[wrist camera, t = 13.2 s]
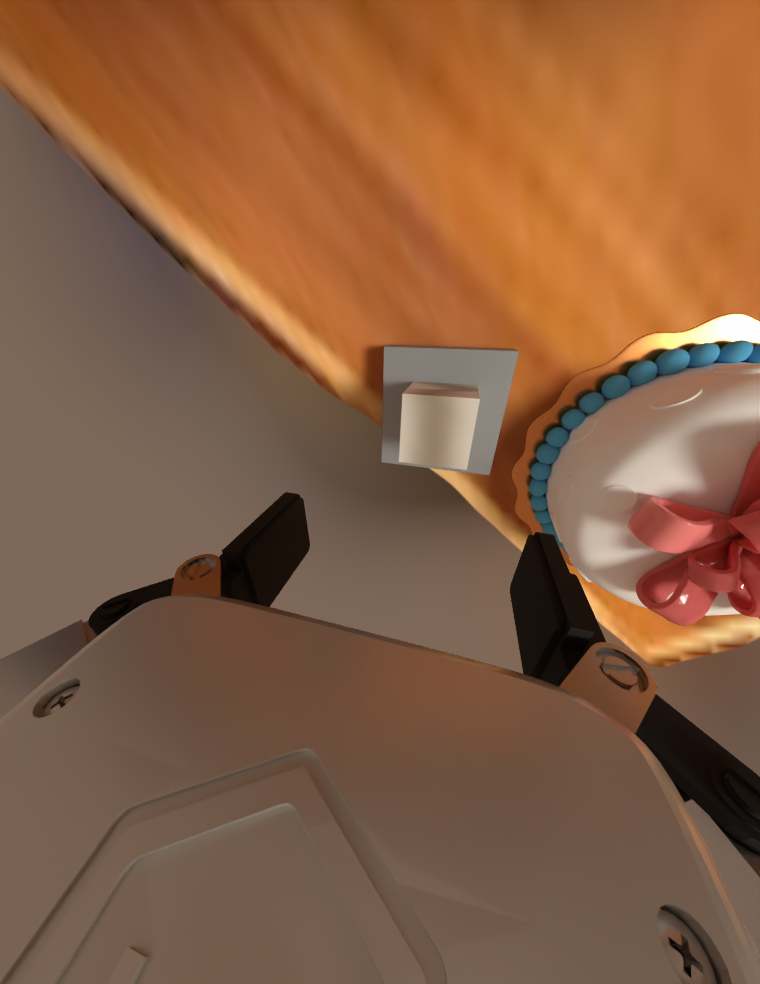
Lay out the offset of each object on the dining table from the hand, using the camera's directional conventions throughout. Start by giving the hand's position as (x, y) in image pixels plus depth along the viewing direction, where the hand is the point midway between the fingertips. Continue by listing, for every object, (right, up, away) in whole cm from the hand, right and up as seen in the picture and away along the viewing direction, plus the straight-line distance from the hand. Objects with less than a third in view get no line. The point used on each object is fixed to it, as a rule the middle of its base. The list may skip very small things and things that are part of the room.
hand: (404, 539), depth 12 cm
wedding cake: (+28, +4, +18) cm, 33 cm away
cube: (+5, +10, +17) cm, 20 cm away
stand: (+6, +11, +19) cm, 23 cm away
